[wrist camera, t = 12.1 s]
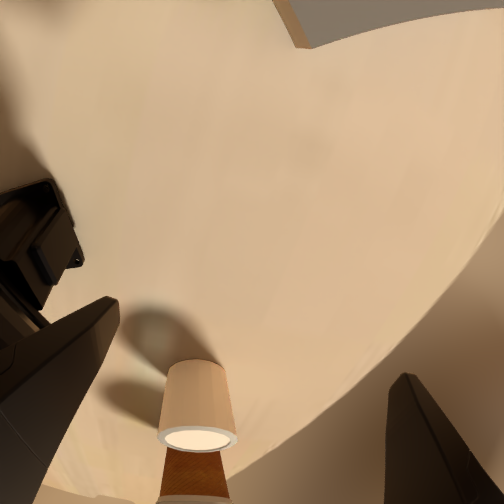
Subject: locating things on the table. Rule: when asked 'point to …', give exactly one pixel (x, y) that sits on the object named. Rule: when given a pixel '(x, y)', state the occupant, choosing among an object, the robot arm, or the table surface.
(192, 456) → the disposable coffee cup
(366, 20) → the plate
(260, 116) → the table surface
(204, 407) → the tan cylindrical piece
